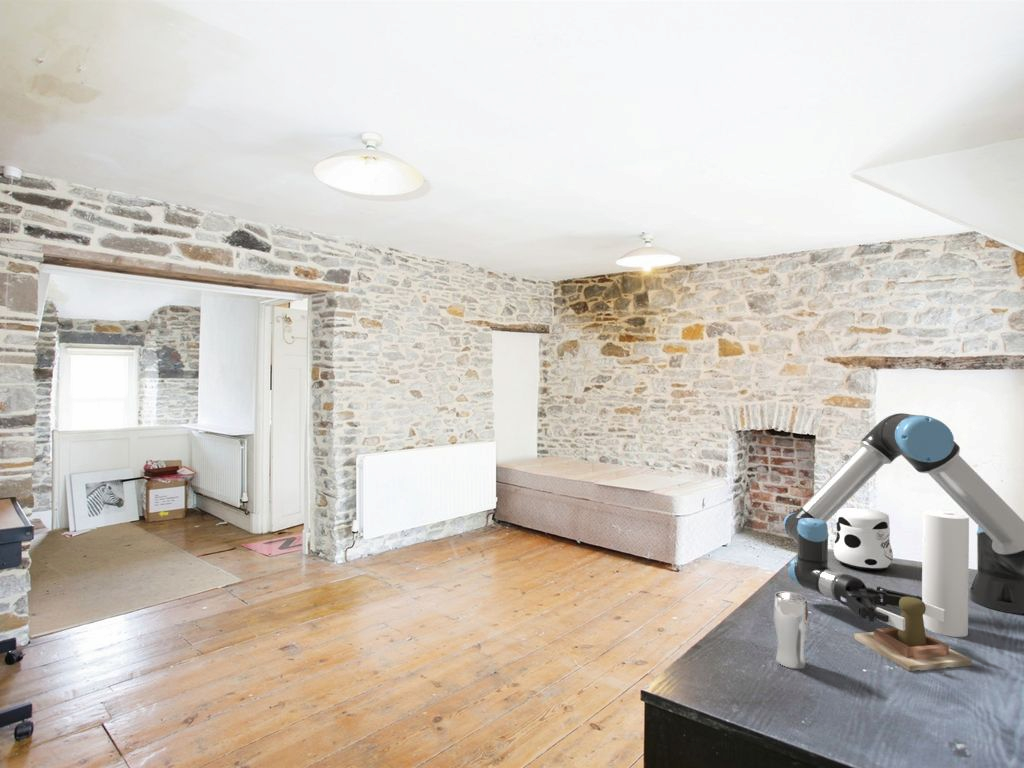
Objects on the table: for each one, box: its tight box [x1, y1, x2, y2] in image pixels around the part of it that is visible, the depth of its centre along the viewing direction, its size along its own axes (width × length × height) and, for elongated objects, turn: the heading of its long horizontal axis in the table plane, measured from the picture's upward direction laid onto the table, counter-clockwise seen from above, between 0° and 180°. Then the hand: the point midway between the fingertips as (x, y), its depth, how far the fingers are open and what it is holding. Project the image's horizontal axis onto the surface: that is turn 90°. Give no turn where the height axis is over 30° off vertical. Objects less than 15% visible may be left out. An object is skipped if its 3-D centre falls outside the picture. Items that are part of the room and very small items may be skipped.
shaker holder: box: [853, 626, 973, 672], centre depth 133 cm, size 16×16×3 cm
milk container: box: [833, 507, 894, 571], centre depth 194 cm, size 17×17×18 cm
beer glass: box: [773, 590, 809, 670], centre depth 128 cm, size 7×7×15 cm
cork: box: [897, 597, 927, 647], centre depth 134 cm, size 6×6×11 cm
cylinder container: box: [921, 509, 970, 638], centre depth 145 cm, size 9×9×30 cm
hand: (925, 620), depth 130 cm, fingers open, 13 cm apart
